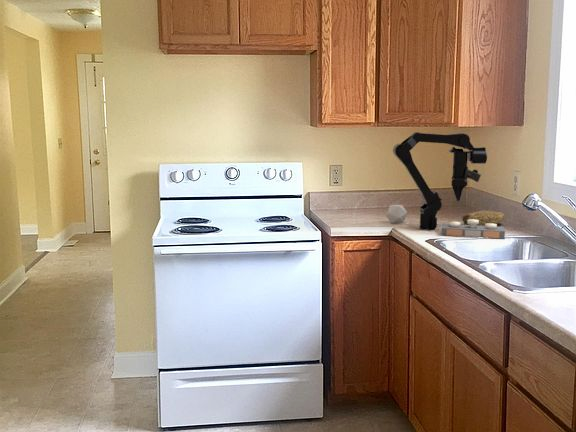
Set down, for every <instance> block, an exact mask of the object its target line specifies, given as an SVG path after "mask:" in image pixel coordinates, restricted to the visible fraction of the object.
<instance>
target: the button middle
mask: <svg viewBox="0 0 576 432" xmlns="http://www.w3.org/2000/svg"><path fill="white" fill-rule="evenodd" d="M467 224H470V228H475V225H477V224H479V220H476V219H468V220H467Z"/></svg>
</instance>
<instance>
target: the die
mask: <svg viewBox="0 0 576 432" xmlns="http://www.w3.org/2000/svg"><path fill="white" fill-rule="evenodd" d="M407 216H408V211H407V210H406V208H405V207H404V206H403V204H389V206H388V209H387V211H386V214H385V217H386V218H387V219H388V221H389V223H390V224H393V225H394V224H395V223H403V224H404V222H405V220H406V217H407ZM395 225H396V224H395Z"/></svg>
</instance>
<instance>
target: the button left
mask: <svg viewBox="0 0 576 432" xmlns="http://www.w3.org/2000/svg"><path fill="white" fill-rule="evenodd" d="M448 222H449V223H448V224H449V226H451V227H460V225H461V221H448Z"/></svg>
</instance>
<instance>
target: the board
mask: <svg viewBox="0 0 576 432" xmlns="http://www.w3.org/2000/svg"><path fill="white" fill-rule="evenodd" d="M440 232H441V236H442V237H443V236H445V237H459V238H460V237H462V238H478V237H488V238H487V239H496V240H498V239H500V240H505V237H506V235H505V234H506V230H505V228H504V226H498V225H497V228H496V229H488V228H485V226H478V225H475V228H470V225H466V224H460V227H451V226H449V223H441V231H440Z"/></svg>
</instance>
